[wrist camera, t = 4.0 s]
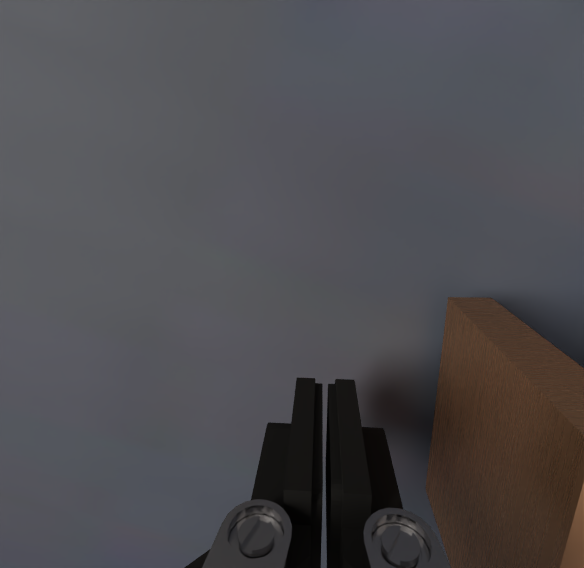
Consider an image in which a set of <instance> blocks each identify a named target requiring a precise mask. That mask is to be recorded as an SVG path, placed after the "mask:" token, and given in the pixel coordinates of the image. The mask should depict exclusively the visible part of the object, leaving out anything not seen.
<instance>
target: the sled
mask: <svg viewBox="0 0 584 568" xmlns="http://www.w3.org/2000/svg"><path fill="white" fill-rule="evenodd" d="M426 492H427V495H428V498H429V501H430V504H431V507H432V510H433V513H434V516H435V519H436V523H437V526H438V529H439V532H440V535H441V538H442V541H443V544H444V547H445V550H446V553H447V557H448V560H449V563H450V566H451V568H584V368H583V367H581V366H580V365H579V364H577V363H576V362H575V361H573V360H572V359H571V358H569V357H568V356H567V355H566V354H564V353H563V352H562V351H560V350H559V349H558V348H556V347H555V346H554V345H552V344H551V343H550V342H549V341H547V340H546V339H545V338H543V337H542V336H541V335H539V334H538V333H537V332H535V331H534V330H533V329H531V328H530V327H529V326H528V325H526V324H525V323H524V322H522V321H521V320H520V319H518V318H517V317H516V316H514V315H513V314H512V313H511V312H509V311H508V310H507V309H505V308H504V307H503V306H501V305H500V304H499V303H497V302H496V301H495V300H493V299H492V298H460V297H448V303H447V312H446V320H445V329H444V337H443V346H442V354H441V362H440V371H439V379H438V388H437V396H436V404H435V413H434V421H433V430H432V438H431V447H430V455H429V463H428V472H427V480H426Z"/></svg>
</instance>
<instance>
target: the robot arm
mask: <svg viewBox="0 0 584 568" xmlns="http://www.w3.org/2000/svg"><path fill="white" fill-rule="evenodd" d="M322 486H323V462H322V384H318V383H315V378H297V381H296V389H295V397H294V406H293V414H292V422H291V424H287V423H268V424H267V428H266V433H265V437H264V442H263V447H262V451H261V456H260V461H259V465H258V470H257V475H256V479H255V484H254V489H253V493H252V498H251V500H250V501H246V502H244V503H242V504H240V505H238V506H236V507H235V508H234V509H233V510H231V511H230V512H229V513H228V514H227V516H226V518H225V519H224V521H223V522H222V524H221V527H220V529H219V531H218V533H217V536H216V538H215V540H214V542H213V545H212V547H211V549H210V550H209V551H207V552H206V553H204V554H203V555H202V556H200V557H199V558H197V559H196V560H195V561H193V562H192V563H190V564H189V565H188V566H186V567H185V568H320V567H321V531H322ZM326 527H327V568H451V566H450V564H449V562H448V560H447V557H446V555H445V553H444V551H443V549H442V547H441V545H440V543H439V540H438V538H437V537H436V535H435V533H434V532H433V530H432V529H431V527H430V526H429V525H428V524H427V523H426V522H425V521H424V520H423V519H422V518H420V517H418V516H417V515H415V514H413V513H412V512H409V511H406V510H403V507H402V502H401V498H400V494H399V490H398V486H397V481H396V477H395V473H394V469H393V465H392V460H391V456H390V452H389V448H388V444H387V439H386V435H385V432H384V429H383V428H370V427H362V426H361V420H360V413H359V407H358V400H357V394H356V387H355V381H354V380H344V379H336V380H335V384H328V405H327V439H326Z"/></svg>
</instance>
